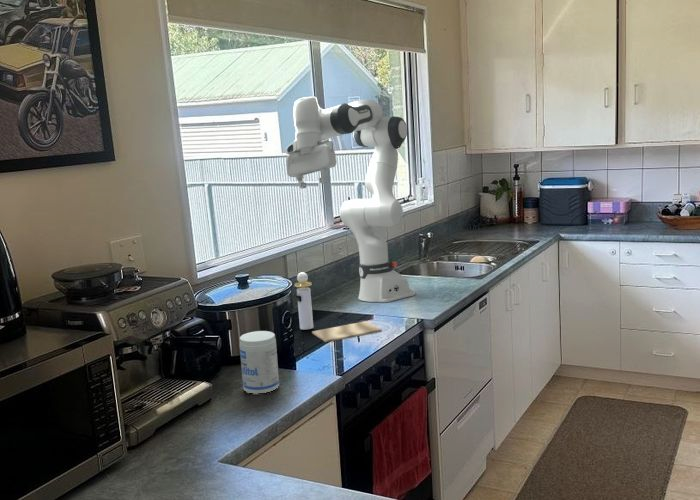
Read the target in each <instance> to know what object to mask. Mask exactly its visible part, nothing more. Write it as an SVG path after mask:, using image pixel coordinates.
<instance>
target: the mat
mask: <svg viewBox="0 0 700 500" xmlns="http://www.w3.org/2000/svg"><path fill="white" fill-rule="evenodd" d="M382 331H383V329H381V328H380V327H378V326H376V325H374V324H373V323H371V322H369V321H367V320H365V321H364V320H363V321H359V322H356V323H355V322H353V323H349V324H344V325H338V326H334V327H328V328H322V329H318V330H312V331H311V334H312V335H314V336H316V337H317V339H318V338H319V339H320V340H322V342H324V343H330V342H335V341H340V340H344V339H350V338H354V337H355V338H356V337H359V336H364V335H370V334H374V333H378V332H382Z"/></svg>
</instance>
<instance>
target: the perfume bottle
mask: <svg viewBox="0 0 700 500" xmlns="http://www.w3.org/2000/svg"><path fill="white" fill-rule="evenodd" d="M308 279H309V276H308V274H307V273H306V272H304V271H303V272H298V273H297V276H296V280H297V281H298V282H295V283H294V287H296V288H297V289H296V291H295V295H294V296H295V297H294V298H295V301H296V302H297V307H298V308H297V309H298V319H299V320H298V321H299V329H300V330H303V331H304V330H311V329H314V320H313V319H314V318H313V308H312V305H313V304H312V296H311V295H312V294H311V288H310V286H312V285H313V284H312V281H308Z"/></svg>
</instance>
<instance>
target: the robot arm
mask: <svg viewBox="0 0 700 500" xmlns="http://www.w3.org/2000/svg"><path fill="white" fill-rule="evenodd" d="M293 122H294V123H293V125H294V127H295V137H294V138H295V140H293V141H292V143H290V144H289V145H288V146H287V147H285V154H286V155H287V156H286V158H285V159H286V162H285V163H286V164H285V165H286V173H287V175H288V177H290V178H295V179H296V181H297V183H298V184H299V189H306V188H307V182H305V181H304V176H306V175H310V174H313V173H318V172H321V176H320V177H318V178H319V179H318V180H319V183H320V184H321V185H322V184H327V177H328V174H329V169H331V168H335V167H336V166H337V157H336V156H337V155H336V152H335V148H334V142H333V141H332V140H331V138H334V137H335V138H336V137H338V136H343V135H349V134H352V137H353V140H354V142H355V144H356V145H357V146H359V147H362V148H369V147H371V148H372V147H374V150H373V154H372V156H371V158H370V160H369V165H368V167H367V172H366V175H365V179H364V186H365V189H366V190H367V191H368V192H370V193H371V194H372V195H373V196H371V197H370V198H352V199H347V200H344V202H342V205H341V206H340V208H339V217H340V220H341V222H342V223H343V224H344V225H345V226H346V227H348V229H349V230H350V231H351V232H352V234H353V236H354V237H355V239H356V240H355V241H356V243H357V247H358V254H359V263H358V273H359V278H360V282H359V283H360V284H359V292H358V293H359V294H358V297H357V298H358V300H359V301H363V302H370V303H374V302H375V303H377V302H379V303H389V302H393V301H397V300H401V299H405V298H408V297H409V298H410V297H412V296H416V292H415V290H414V289H412V288H410V285H409V282H408V279H407V278H406V277H405V276H404V275H402V274H400V273H399V272H397V271H396V270H395V269H394V268H397V267H398V266H399V265H398V263H397V262H396V261H390V260H389V253H388V252H389V251H388V243H387V241H386V239H385V238H384V237H382V236H381V235H379V234H378V233H377V232H376V231H375V228H388V227H389V228H390V227H393V226H397V225H399V223H401V221H402V219H403V216H404V211H403V210H404V209H403V206H402V204H401V203H400V201H399V200H397V199H396V198H395V195H394V193H393V188H394V182H395V178H396V174H397V170H398V162H399V161H398V160H399V152H398V149H399V148H401V146H402V145H403V143H404V142H405V140H406V137H407V135H408V125H407V123H406V121H405V119H404V118H402V117H400V116H383V109H382V106H381V105H380V103H379V102H378V101H375V100H372V99H357V100H354V101H351V102H349V103H345V102H344V103H341V104H338V105H336V106H332V107H330V108H326V109H323V108H322V107H320V105H319V103H318V98H317V97H316V96H313V95H311V96H304V97H301V98H298V99H296V100H295V101H294V104H293Z"/></svg>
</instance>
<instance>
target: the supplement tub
mask: <svg viewBox="0 0 700 500" xmlns="http://www.w3.org/2000/svg"><path fill="white" fill-rule="evenodd" d="M277 348H278V347H277V339H276V334H275V333H274V332H272V331H268V330H255V331H251V332H250V331H249V332H247V333H244V334H241V336H239V354H240V366H241V377H242V378H241V379H242V388H243V390H244V392H245V391H246V393H247V394H249V393H253V394H252V395H259V394H258V393H266V392H270V391H273V390H275V389H276V388H277V389H278V388H279V387H278V386H280V379H279V365H278V353H277V351H278V349H277ZM277 389H276V390H277ZM276 390H275V391H276ZM273 392H274V391H273ZM270 393H271V392H270Z"/></svg>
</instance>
